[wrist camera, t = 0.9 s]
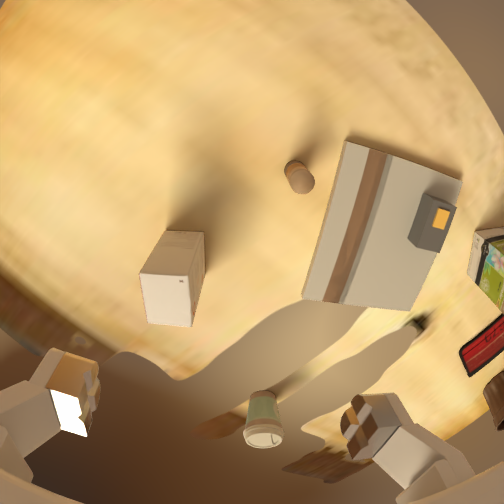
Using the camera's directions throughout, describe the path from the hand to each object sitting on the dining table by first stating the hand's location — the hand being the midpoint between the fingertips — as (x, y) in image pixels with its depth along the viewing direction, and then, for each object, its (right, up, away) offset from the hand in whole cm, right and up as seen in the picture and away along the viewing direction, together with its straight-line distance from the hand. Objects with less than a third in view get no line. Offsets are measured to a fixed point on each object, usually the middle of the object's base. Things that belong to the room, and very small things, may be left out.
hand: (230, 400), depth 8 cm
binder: (+65, -19, +52) cm, 85 cm away
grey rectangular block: (+29, +10, +35) cm, 47 cm away
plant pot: (+83, -39, +62) cm, 111 cm away
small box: (-10, +4, +40) cm, 42 cm away
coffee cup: (+3, -29, +57) cm, 64 cm away
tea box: (+50, +5, +40) cm, 64 cm away
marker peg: (+7, +16, +34) cm, 38 cm away
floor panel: (+22, +7, +39) cm, 45 cm away
